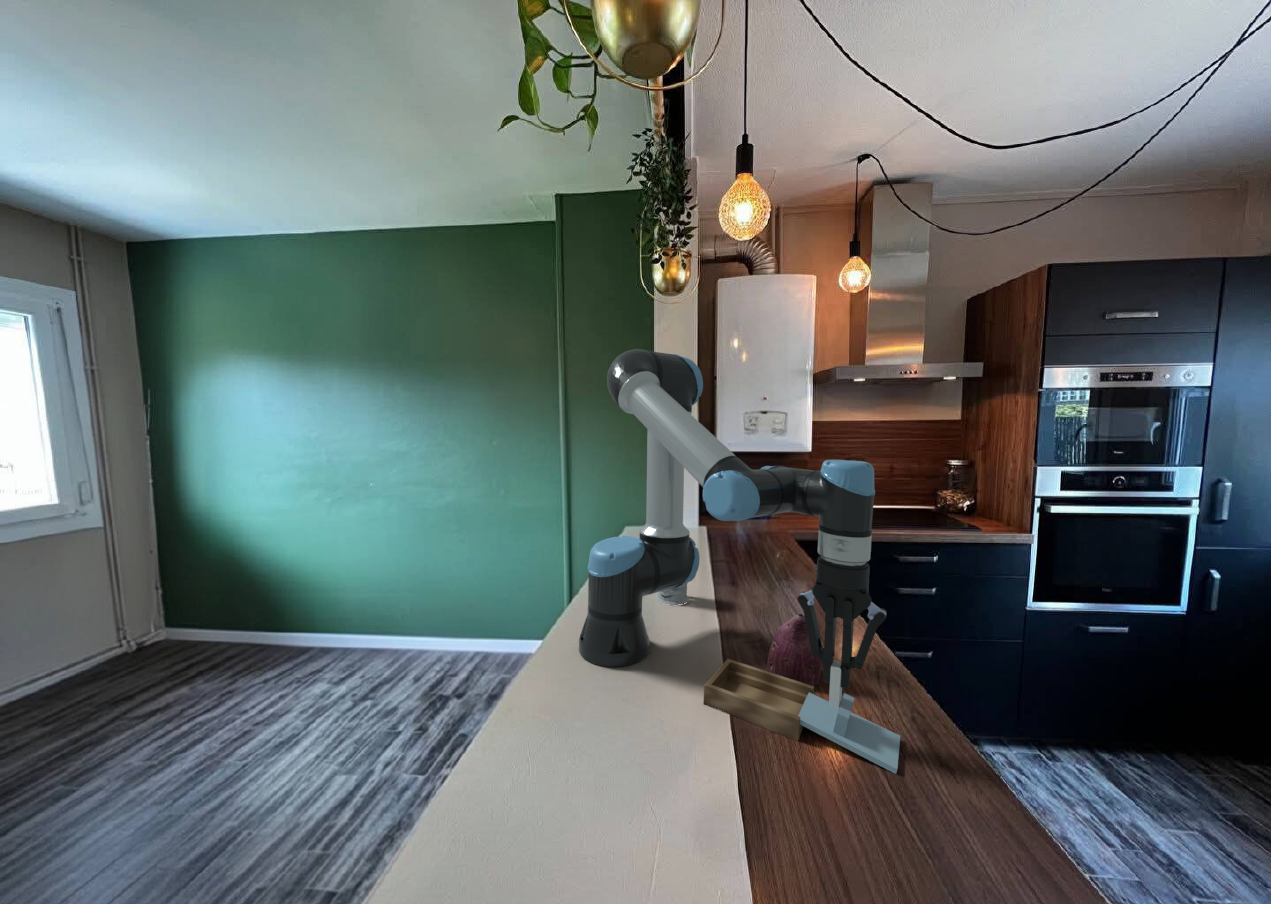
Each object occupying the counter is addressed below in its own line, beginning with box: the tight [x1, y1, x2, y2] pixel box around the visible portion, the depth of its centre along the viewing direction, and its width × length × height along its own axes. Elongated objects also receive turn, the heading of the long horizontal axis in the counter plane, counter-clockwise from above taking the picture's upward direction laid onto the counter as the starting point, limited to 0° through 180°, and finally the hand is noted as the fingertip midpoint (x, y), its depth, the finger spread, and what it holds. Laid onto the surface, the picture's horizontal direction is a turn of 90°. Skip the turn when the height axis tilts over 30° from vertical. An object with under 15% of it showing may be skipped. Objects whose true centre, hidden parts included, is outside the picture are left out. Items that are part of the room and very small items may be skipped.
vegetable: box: [766, 612, 822, 687], centre depth 87 cm, size 10×10×15 cm
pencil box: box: [703, 658, 815, 742], centre depth 79 cm, size 16×11×3 cm
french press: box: [655, 574, 697, 605], centre depth 125 cm, size 10×12×25 cm
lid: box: [798, 692, 901, 775], centre depth 70 cm, size 14×8×4 cm, turn 57°
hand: (835, 703), depth 72 cm, fingers closed
